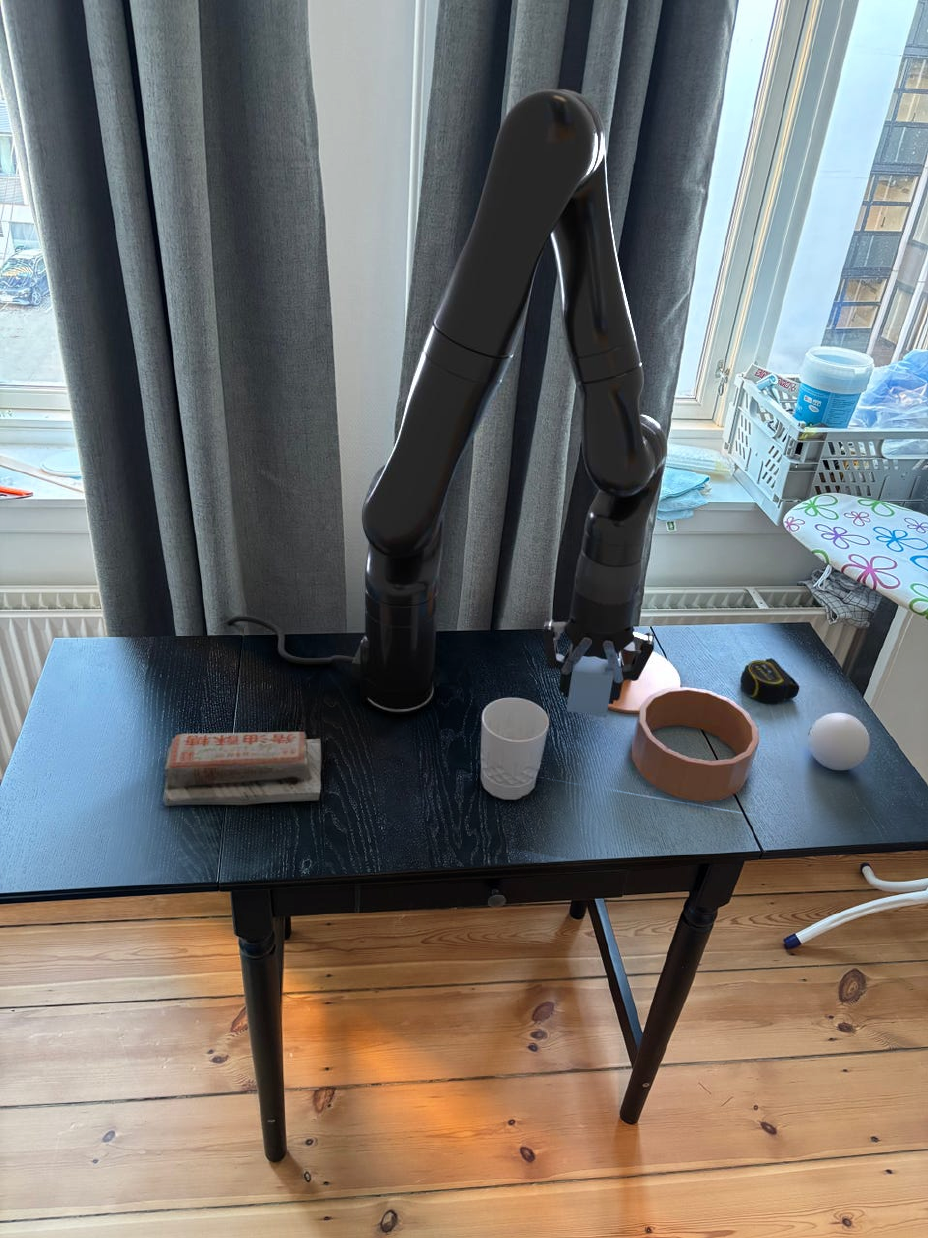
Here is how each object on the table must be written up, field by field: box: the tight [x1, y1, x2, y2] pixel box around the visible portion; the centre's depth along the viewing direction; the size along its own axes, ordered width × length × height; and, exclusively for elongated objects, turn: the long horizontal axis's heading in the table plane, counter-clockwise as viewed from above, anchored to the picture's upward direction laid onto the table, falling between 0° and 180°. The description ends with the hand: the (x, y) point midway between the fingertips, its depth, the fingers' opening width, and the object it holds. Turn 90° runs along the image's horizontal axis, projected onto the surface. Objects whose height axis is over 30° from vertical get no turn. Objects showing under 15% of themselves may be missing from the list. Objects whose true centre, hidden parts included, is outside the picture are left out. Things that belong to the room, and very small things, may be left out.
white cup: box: [480, 697, 550, 801], centre depth 115 cm, size 8×8×10 cm
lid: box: [607, 642, 682, 714], centre depth 134 cm, size 16×16×6 cm
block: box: [566, 656, 614, 718], centre depth 121 cm, size 5×5×6 cm
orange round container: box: [630, 686, 760, 803], centre depth 120 cm, size 15×15×6 cm
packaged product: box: [162, 731, 322, 807], centre depth 114 cm, size 18×5×10 cm
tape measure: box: [740, 657, 800, 705], centre depth 134 cm, size 7×7×4 cm
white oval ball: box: [807, 708, 871, 771], centre depth 123 cm, size 10×7×7 cm
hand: (588, 696), depth 122 cm, fingers closed on block, 5 cm apart
